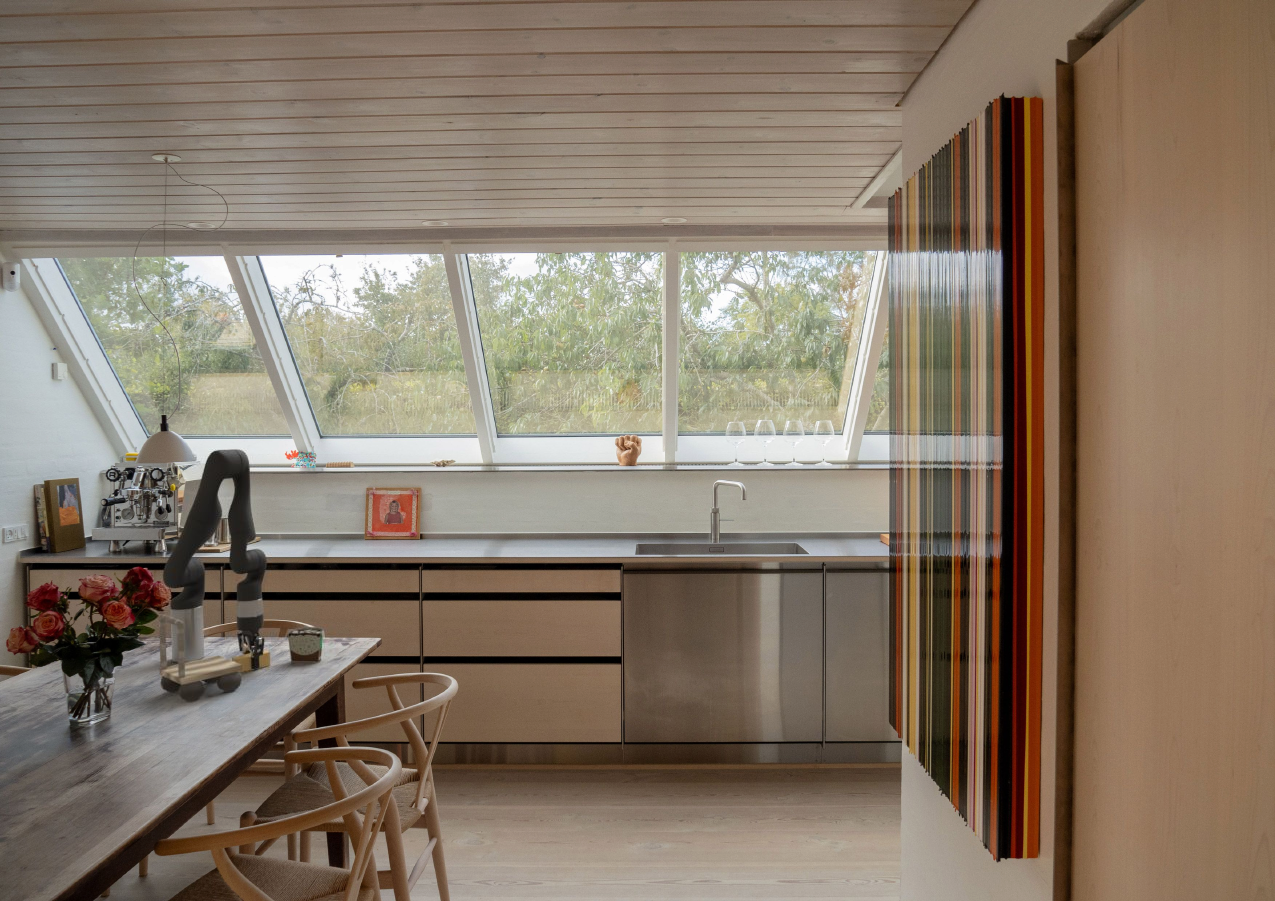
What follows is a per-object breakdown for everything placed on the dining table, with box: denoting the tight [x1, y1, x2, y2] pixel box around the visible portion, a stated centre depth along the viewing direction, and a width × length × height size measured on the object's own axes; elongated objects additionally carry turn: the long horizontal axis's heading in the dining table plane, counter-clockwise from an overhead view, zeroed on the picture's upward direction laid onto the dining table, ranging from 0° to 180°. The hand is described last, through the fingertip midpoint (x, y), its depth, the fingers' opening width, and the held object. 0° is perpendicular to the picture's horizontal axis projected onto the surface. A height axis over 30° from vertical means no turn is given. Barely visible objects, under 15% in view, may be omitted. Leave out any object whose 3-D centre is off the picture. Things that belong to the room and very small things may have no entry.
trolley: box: [158, 613, 242, 703], centre depth 222 cm, size 16×16×23 cm
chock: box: [231, 649, 271, 674], centre depth 244 cm, size 4×10×4 cm, turn 140°
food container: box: [286, 626, 326, 663], centre depth 252 cm, size 12×6×10 cm, turn 84°
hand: (251, 666), depth 244 cm, fingers open, 4 cm apart
